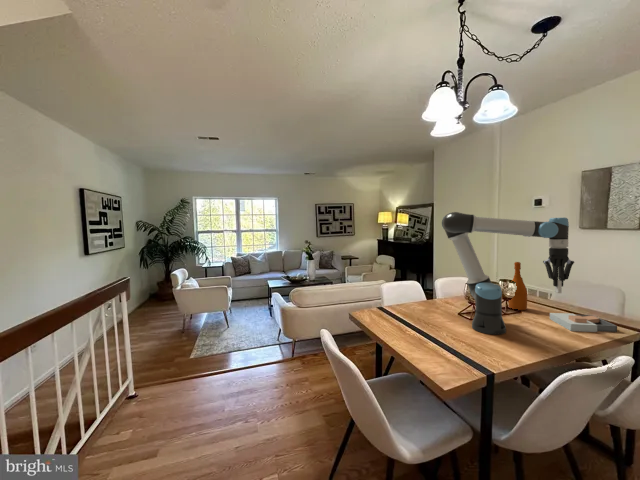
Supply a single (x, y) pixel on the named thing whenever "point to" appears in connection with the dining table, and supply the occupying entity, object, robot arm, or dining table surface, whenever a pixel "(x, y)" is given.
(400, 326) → the dining table surface
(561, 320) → the board
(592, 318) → the tile far
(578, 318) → the tile near
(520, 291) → the wine bottle
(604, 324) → the tray
